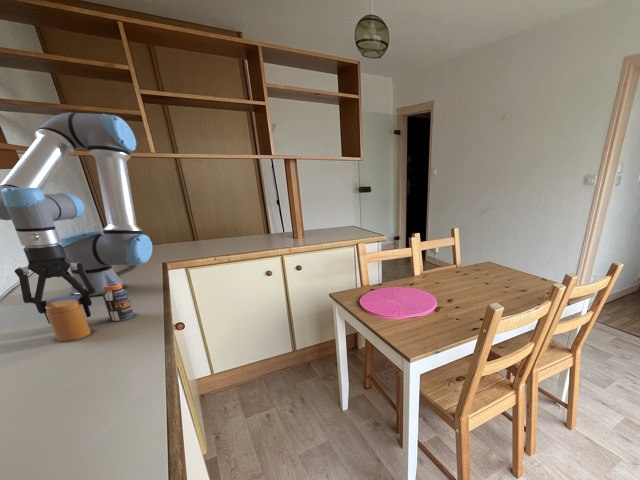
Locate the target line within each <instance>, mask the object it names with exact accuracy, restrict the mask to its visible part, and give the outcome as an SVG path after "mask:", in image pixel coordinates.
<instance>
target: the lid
mask: <svg viewBox="0 0 640 480" xmlns="http://www.w3.org/2000/svg"><path fill="white" fill-rule="evenodd" d="M71 299H74V300H78V303H79V305H81V306H82V302H81V300H80V296H74V295H66V296H60V297H55V298H51V299H49V300H46V303H45V304H46V305H47V304H50V303H53V302H57V301H62V300H71Z"/></svg>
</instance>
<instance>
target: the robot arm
mask: <svg viewBox="0 0 640 480" xmlns="http://www.w3.org/2000/svg"><path fill="white" fill-rule="evenodd" d="M33 136H34V139H35V140H34V141H33V142H32V144H30V146H29V147H28V149H27V150H26V151H25V152H24V154H23V155H22V156H21V157H20V159H19V160H18V161H17V163H16V164H15V165H14V166H13V168H11V170H10V171H9V173H8V174H7V175H6V176H5V178H4V179H3V180H2V181H1V183H0V220H1V221H11V222H12V224H13V227H14V230H15V232H16V235H17V238H18V240H19V242H20V245H21V246H23V248H22V250H23V253H24V255H25V257H26V260H27V262H28V263H27V266H23V267H21V266H19V267H17V268H15V269H14V273H15V275H16V276H17V277H18V279H19V285H20V290H21V295H22V301H23V303H24V304H34V305H35V307H36V310H37V312H38V313H39V314H44V315H45V319H46V321H47V323H48V325H51V324H50V321H49V319H48V317H47V314H46V311H47V310H46V309H45V306H46V304H45V303H46V302H47V300H43V296H44V290H45V286H46V281H47V279H51V278H62V279H64V280H65V281H66V282H67V283H68V284H69V285H71V287H70V290H71V293H72V296H80V300H81V302H82V304H81V306H82V309H83V312H84V314H85V317H86V318H90V317H91V316H92V313H91V311H90V307H91V306H92V303H93V302H92V299H91V297H95V296H103V293H104V292H106V290H105V288H104V286H105V285H108V284H115V283H119V284H121V287H122V289H124V287H125V285H124V282H123V281H122V279H121V278H120V277H119V276H118V275H119V274H122V273H124V272H126V271H128V270H130V269H132V268H133V267H134V266H135V265H143V264H146V263H147V262H148V261H149V260H150V258H151V257H152V254H153V242H152V241H151V238H150V237H149V236H148V235H147V234H144V231H143V229H142V228H141V227H139V226H138V225H137V224H138V223H137V219H136V212H135V207H134V201H133V194H132V188H131V181H130V176H129V169H128V164H127V163H128V160H130V159H131V152H134V151H135V150H136V148H137V139H136V137H135V135H134V132H133V130H132V129H131V127H130V125H128V123H127V122H126V121H125V120H124V119H123V118H121V117H120V116H118V115H115V114H107V113H84V112H63V113H60V114H57V115H55V116H53V117H51V118H50V119H48V120H47V121H45V122H44V123H42V124H41V125H40V126H39V128H37V130H36V131H35V132H34V135H33ZM78 150H87V152H88V153H89V154H90V155H91V156H92V157H93V158H94V159H95V166H96V169H97V175H98V181H99V186H100V192H101V198H102V204H103V208H104V214H105V220H106V226H104V228H102V232H101V230H89V231H81V232H75V233H70V234H64V235H62V236H61V237H60V236H59V234H58V230H57V228H56V225H55V223H54V222H57V221H67V220H74V219H77V218H81V217H82V216H83V215H84V213H85V210H86V208H85V204H84V203H83V201H82V199H80V198H79V197H77V196H76V195H74V194H70V193H63V192H57V193H44V189H45V188H46V186H47V185H48V183H49V182H50V180H51V179H52V178H53V177H54V175H55V173H56V172H57V170H58V169H59V167H60V166H61V164H62V163H63V162H64V160H65V159H66V157H70V156H73V154H75V152H76V151H78ZM128 265H129V266H128ZM113 266H128V267H126V268H124V269H121V270H118V271H116V272H115V271H114V269H113ZM69 269H70V272H71V273H70V272H69ZM30 271H31V272H33V273H34V274H36V275H38V277H37V284H36V289H35V294H34V297H33V296H32V292H31V287H30V282H29V281H30V280H29V276H28V275H29V274H30Z"/></svg>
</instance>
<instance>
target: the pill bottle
mask: <svg viewBox="0 0 640 480" xmlns="http://www.w3.org/2000/svg"><path fill="white" fill-rule="evenodd" d="M104 288H105V290H106V292H104V293H103V295H102V298H103V301H104V304H105V308H106V310H107V313H108V316H109V319H110V320H112V321H118V322H119V321H124V320H127V319H130V318H132V317H134V311H133V307H132V304H131V300H130V297H129V294H128V291H127V290H126V289H125V288H122V287H121V284H119V283H115V284H108V285H105V286H104Z"/></svg>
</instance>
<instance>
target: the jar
mask: <svg viewBox="0 0 640 480" xmlns="http://www.w3.org/2000/svg"><path fill="white" fill-rule="evenodd" d="M45 309H46V310H47V311H46V314H47V317H48V319H49V321H50V324H49V325H50V327H51V328H52V331H53V333H54V335H55V338H56V341H58V342H71V341H77V340H80V339H83V338H85V337H87V336H90V335H91V333H92V331H91V328H90V326H89V323H88V320H87V316H86V314H85V311H84V308H83V305H82V304H81V305H79V303H78V300H74V299H71V300H62V301H57V302H53V303H50V304H47V305H46V306H45Z"/></svg>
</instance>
